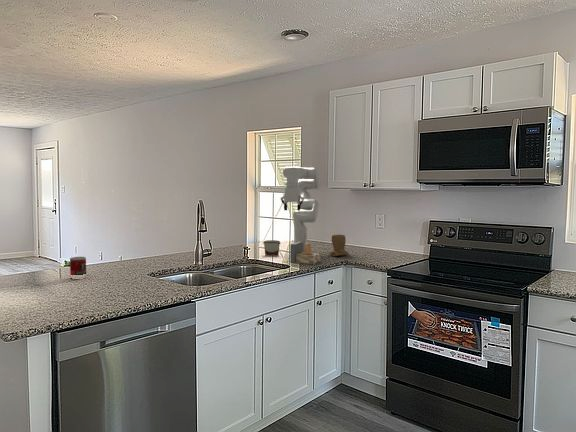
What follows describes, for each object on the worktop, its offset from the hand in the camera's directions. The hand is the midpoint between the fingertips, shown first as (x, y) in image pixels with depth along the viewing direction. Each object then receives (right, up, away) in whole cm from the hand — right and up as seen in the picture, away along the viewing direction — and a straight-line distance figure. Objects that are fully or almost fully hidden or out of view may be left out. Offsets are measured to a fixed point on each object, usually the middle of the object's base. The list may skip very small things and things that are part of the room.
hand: (292, 210), depth 303 cm
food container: (-14, -31, +15) cm, 38 cm away
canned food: (-114, -37, -66) cm, 137 cm away
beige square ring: (+10, -33, -14) cm, 38 cm away
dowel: (+10, -34, -14) cm, 38 cm away
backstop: (+3, -33, -11) cm, 35 cm away
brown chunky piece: (+33, -32, +14) cm, 48 cm away
